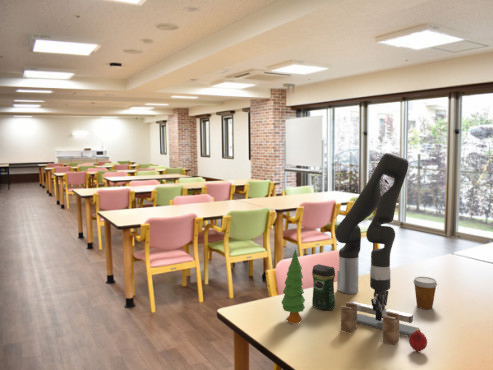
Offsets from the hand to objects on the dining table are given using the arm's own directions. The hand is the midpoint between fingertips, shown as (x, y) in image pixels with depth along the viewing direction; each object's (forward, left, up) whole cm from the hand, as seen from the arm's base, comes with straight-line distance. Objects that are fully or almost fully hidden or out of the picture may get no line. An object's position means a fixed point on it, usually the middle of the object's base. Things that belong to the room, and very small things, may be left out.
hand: (379, 318), depth 162 cm
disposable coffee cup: (+10, +29, -2) cm, 31 cm away
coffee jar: (-26, +4, -2) cm, 27 cm away
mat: (0, 0, -2) cm, 2 cm away
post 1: (-8, -11, -2) cm, 14 cm away
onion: (+18, -14, -2) cm, 23 cm away
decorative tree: (-30, -16, -2) cm, 34 cm away
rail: (0, 0, +2) cm, 2 cm away
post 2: (+8, -11, -2) cm, 14 cm away
